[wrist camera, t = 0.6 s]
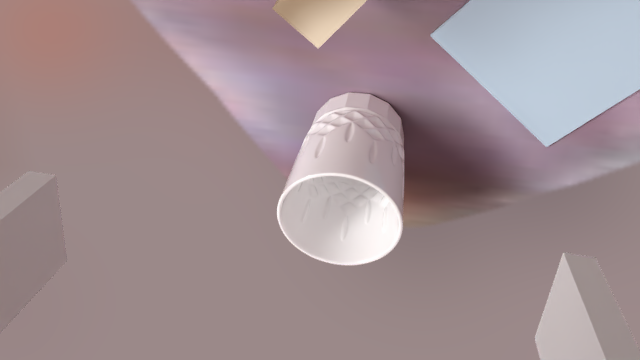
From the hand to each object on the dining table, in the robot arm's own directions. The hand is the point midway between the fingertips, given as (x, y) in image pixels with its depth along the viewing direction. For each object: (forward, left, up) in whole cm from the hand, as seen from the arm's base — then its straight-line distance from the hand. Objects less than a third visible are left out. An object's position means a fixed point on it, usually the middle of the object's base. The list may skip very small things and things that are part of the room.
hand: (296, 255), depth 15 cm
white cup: (+11, +9, -26) cm, 30 cm away
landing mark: (-4, +13, -26) cm, 29 cm away
